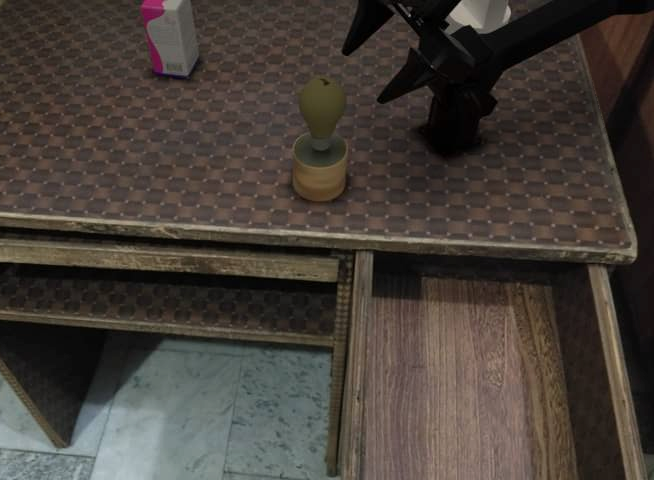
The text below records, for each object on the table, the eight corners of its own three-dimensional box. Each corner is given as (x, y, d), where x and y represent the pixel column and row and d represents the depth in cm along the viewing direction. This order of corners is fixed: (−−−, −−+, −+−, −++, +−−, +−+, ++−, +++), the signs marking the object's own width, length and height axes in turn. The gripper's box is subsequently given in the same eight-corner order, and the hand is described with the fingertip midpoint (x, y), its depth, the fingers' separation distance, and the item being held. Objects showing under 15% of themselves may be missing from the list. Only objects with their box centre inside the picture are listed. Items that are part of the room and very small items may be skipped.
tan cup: (355, 190, 84) (358, 156, 79) (307, 208, 82) (308, 175, 77) (329, 157, 87) (331, 123, 82) (284, 174, 86) (283, 140, 81)
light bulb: (351, 142, 80) (357, 74, 72) (329, 169, 78) (332, 102, 69) (313, 127, 82) (314, 60, 74) (290, 153, 80) (289, 87, 71)
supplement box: (200, 57, 102) (190, -12, 93) (188, 79, 99) (176, 11, 90) (167, 53, 103) (153, -16, 94) (154, 75, 100) (138, 7, 91)
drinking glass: (431, 36, 101) (445, -39, 91) (483, 25, 102) (503, -52, 92) (456, 69, 96) (473, -7, 86) (511, 57, 97) (534, -20, 87)
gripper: (374, -123, 66) (283, 6, 74) (471, -26, 57) (354, 108, 65) (431, -71, 73) (342, 41, 82) (524, 22, 64) (414, 137, 73)
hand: (360, 77), depth 75 cm, fingers open, 9 cm apart
